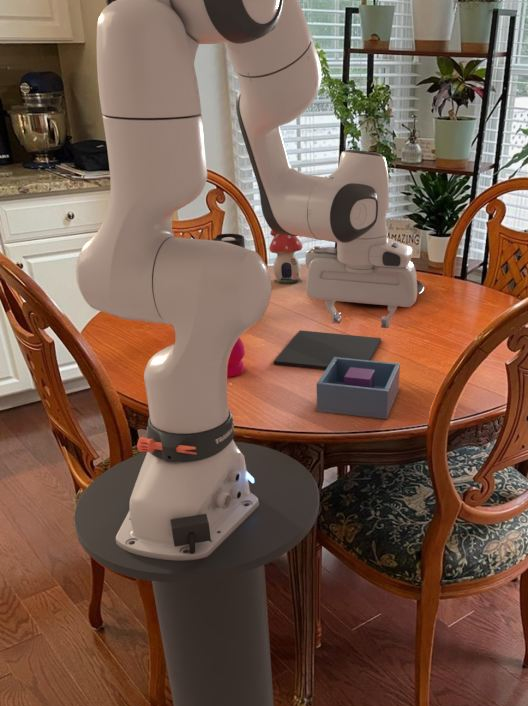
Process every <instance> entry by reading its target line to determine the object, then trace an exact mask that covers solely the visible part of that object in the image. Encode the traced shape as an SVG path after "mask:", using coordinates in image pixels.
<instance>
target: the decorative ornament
mask: <svg viewBox="0 0 528 706" xmlns="http://www.w3.org/2000/svg"><path fill="white" fill-rule="evenodd" d="M269 233H270V236H273V237H272V240H271V242H270V244H269V247H268V248H269V252H270V253H272V254H276V257H275V259H274V262H273V265H272V270H273V271H272V272H273V274H274V276H275V277H274V278H275V280H276V282H277V283H279V284H284V285H285V284H286V285H287V284H288V285H289V284H297V283H299V282H301V277H300V274H301V263H300V260H299V259H298V257H297V256H296V255H295V253H297V252H299V251H302V249H303V244H302V241H301V240H300V239H299V238H298V236H289V235H279V234H277V233H275V232H274V231H273V230H272V229H270V232H269Z"/></svg>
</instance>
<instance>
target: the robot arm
mask: <svg viewBox="0 0 528 706" xmlns="http://www.w3.org/2000/svg"><path fill="white" fill-rule="evenodd" d="M105 3H106V6H105V7H104V8H103V9H102V11H101V12H100V14H99V16H98V20H97V24H96V72H97V73H96V74H97V85H98V95H99V96H98V97H99V104H100V110H101V114H102V115H101V116H102V123H103V129H104V135H105V144H106V150H107V159H108V169H109V179H110V180H109V181H110V193H109V201H108V206H107V210H106V214H105V217H104V220H103V222H102V224H101V226H100V227H99V229H98V231H96V233H95V234H94V235H93V236H92V237H91V238H90V239H89V240H88V241H86V242H85V244H84V245H83V246H82V248H81V250H80V251H79V255H78V256H77V260H76V266H75V277H76V283H77V286H78V289H79V292H80V294H81V296H82V298H83V300H84V301H85V302H86V304H87V305H88V306H89V307H91V308H92V309H93V310H95V311H98V312H102V313H104V314H107V315H110V316H113V317H116V318H119V319H122V320H125V321H136V322H142V323H143V322H144V323H153V324H161V325H163V324H164V325H169V326H172V327H173V331H174V336H175V337H174V338H175V342H174V343H173V344H171V345H168V346H166V347H164V348H162V349H161V350H159V351H157V352H156V353H154V354H153V355H152V356H151V357H150V359H149V360H148V361H147V363H146V365H145V369H144V372H143V380H144V387H145V393H146V400H147V407H148V414H149V417H148V418H147V427H146V433H145V434H146V437H143V436H140V437H138V439H137V443H136V446H137V447H136V448H137V451H138V452H140V453H145V452H147V454H146V457H145V459H144V462H143V464H142V467H141V469H140V472H139V475H138V478H137V481H136V483H135V486H134V489H133V492H132V495H131V498H130V510H129V512H128V514H127V516H126V518H125V520H124V522H123V524H122V526H121V528H120V530H119V532H118V533H117V536H116V544H117V545H118V546H119V547H121V548H122V549H124V550H126V551H128V552H130V553H133V554H136V555H140V556H144V557H150V558H155V559H163V560H174V561H185V560H196V559H201V558H205V557H208V556H209V555H210V554H211V553H212V552H213V551H214V550H215V549H216V548H217V547H218V546H219V545H220V544H221V543H222V542H223V541H224V540H225V539H226V538H227V537H228V536H229V535H230V534H231V533H232V532H233V531H234V530H235V529H236V528H237V527H238V526H239V525H240V524H241V523H242V522H243V521H244V520H245V519H246V518H247V517H248V516H249V515H250V514H251V513H252V512H253V511H254V510H255V509H256V508H257V507H258V506H259V502H258V498H257V497H256V496H255V495H254V494H252V493H251V492H250V489H249V483H248V479H249V480H250V481H251V482H252V483H254V478H253V477H252V476H251V475H250V474H249V473H248V472H247V470H246V464H245V459H244V456H243V454H242V453H241V452H240V450H239V449H238V447H237V446H236V444H235V442H236V441H234V437H235V431H234V430H235V422H234V419H233V413H232V411H231V409H230V407H229V394H228V393H229V392H228V377H227V367H228V360H229V357H230V354H231V351H232V349H233V347H234V345H235V343H236V342H237V340H238V339H239V338H240V339H241V337H242V336H243V334H245V333H246V332H247V331H249V330H250V329H251V328H253V327H254V326H255V325H256V324H258V323H259V322H260V321H261V319H262V318H263V317H264V316H265V314H266V312H267V310H268V308H269V306H270V303H271V298H272V291H273V290H272V289H273V287H272V279H271V274H270V270H269V268H268V267H267V264H266V263H265V261H264V259H263V257H262V256H261V255H260V254H259V253H258V252H256V251H255V250H252V249H249V248H247V247H245V248H243V247H240V246H237V245H233V244H230V243H227V242H223V241H214V240H213V239H212V240H211V239H202V238H201V239H200V238H189V237H179V236H178V237H177V236H175V235H174V231H173V219H174V214H175V212H176V211H179V210H180V209H182V208H184V207H187V205H190V204H191V202H194V201H195V200H196V199H197V198H198V197H199V196H200V195H201V194H202V192H203V191H204V189H205V186H206V183H207V180H208V168H207V157H206V148H205V147H206V146H205V137H204V136H205V134H204V125H203V115H202V114H203V113H202V105H201V96H200V89H199V82H198V78H197V77H198V76H197V72H196V67H195V59H196V55H197V51H198V48H199V45H216V44H217V45H219V44H224V46H225V49H226V52H227V55H228V57H229V60H230V62H231V65H232V67H233V70H234V71H235V74H236V77H237V80H238V84H239V88H240V89H239V90H238V93H237V95H236V101H235V108H236V115H237V116H236V117H237V121H238V125H239V129H240V132H241V136H242V139H243V142H244V146H245V149H246V152H247V155H248V158H249V161H250V164H251V167H252V170H253V174H254V176H255V181H256V185H257V187H258V191H259V199H260V200H259V201H260V208H261V212H262V216H263V218H264V221H265V222H266V224H267V225H268V227H269V228H270V230H273V231H274V232H275V233H277V234H279V235H289V236H296V237H302V238H307V239H312V240H317V241H326V242H331V243H336V247H334V246H333V247H332V246H327V247H324V246H319V245H318V246H317V245H315V246H313V247H311V248H309V249H308V250H307V251H306V253H305V266H306V268H307V273H306V274H307V275H306V285H305V286H306V287H305V292H306V295H307V296H308V297H309V299H311V300H321V301H325V302H324V303H325V304H324V305H325V307H326V310H327V311H328V312H329V314H330V315H331V316H330V317H331V324H338V325H340V324H341V322H342V312H341V311H337V309H336V307H335V303H336V302H344V303H345V302H346V303H355V304H366V305H379V306H387V311H388V312H389V313H388V314H387V315H382V317H381V319H380V323H381V324H380V328H381V329H390V327H391V320H392V317H393V315H394V314H395V313H396V311H397V308H398V307H403V308H411V307H412V306H413V305H414V304H415V303H416V301H417V299H418V295H417V280H418V278H417V276H418V275H417V270H416V267H415V265H414V263H413V262H412V261H411V260H412V258H413V248H412V247H411V246H410V245H407V244H405V243H402V242H400V241H397V240H395V239H392V238H390V237H388V234H389V233H388V225H387V214H388V210H389V200H390V195H389V193H390V188H389V187H390V186H389V185H390V184H389V183H390V182H389V181H390V180H389V170H388V163H387V160H386V157H385V156H383V155H382V154H380V153H378V152H374V151H367V150H361V149H350V148H349V149H345V150H342V151H341V152H340V157H339V162H338V163H339V164H338V167H337V168H336V169H335V170H334V172H332V173H331V174H329V175H328V176H319V175H312V174H306V173H303V172H300V171H299V170H297V169H295V168H294V167H293V166H291V165H290V163H289V158H288V154H287V151H286V147H285V143H284V140H283V136H282V132H281V127H282V126H285V125H287V124H290V123H291V122H293V121H295V120H296V119H297V118H299V117H300V116H301V115H302V114H304V112H306V111H307V110H308V109H309V107H311V105H312V103H314V101H315V100H316V98H317V95H318V92H319V90H320V87H321V81H322V68H321V62H320V58H319V53H318V50H317V48H316V44H315V41H314V39H313V35H312V32H311V30H310V27H309V24H308V21H307V18H306V16H305V14H304V11H303V8H302V7H301V4H300V2H299V0H105Z"/></svg>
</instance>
